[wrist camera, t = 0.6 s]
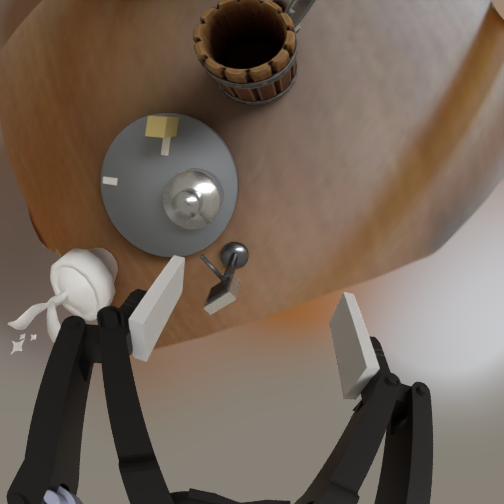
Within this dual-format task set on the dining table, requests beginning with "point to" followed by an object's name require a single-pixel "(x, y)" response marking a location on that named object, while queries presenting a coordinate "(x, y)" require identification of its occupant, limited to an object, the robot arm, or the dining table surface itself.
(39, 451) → the robot arm
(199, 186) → the cover
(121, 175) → the turntable
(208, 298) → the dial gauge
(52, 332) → the potted plant
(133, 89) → the dining table surface
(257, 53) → the mug
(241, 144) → the dining table surface
